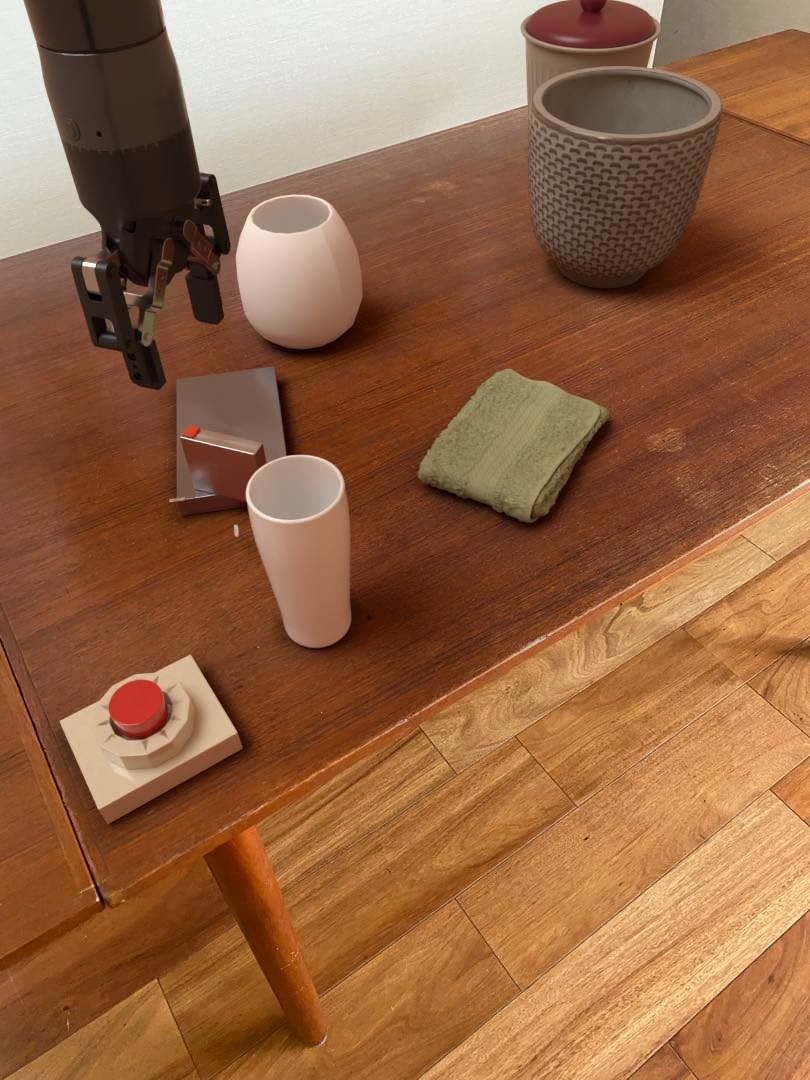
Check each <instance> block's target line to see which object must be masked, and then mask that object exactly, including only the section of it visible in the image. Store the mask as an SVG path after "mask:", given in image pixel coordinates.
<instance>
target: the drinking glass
mask: <svg viewBox="0 0 810 1080" xmlns="http://www.w3.org/2000/svg"><path fill="white" fill-rule="evenodd" d="M246 500H247V506H248V507H247V513H248V518H249V523H250V527H251V532H252V535H253V539H254V542H255V545H256V548H257V551H258V554H259V557H260V560H261V563H262V565H263V568H264V571H265V573H266V575H267V578H268V581H269V584H270V587H271V589H272V592H273V595H274V597H275V601H276V603H277V606H278V609H279V612H280V616H281V619H282V624H283V627H284V630H285V632H286V634H287V636H288V637H289V638H290V640H292V641H293V642H294V643H296V644H298V645H300V646H301V647H305V648H309V649H321V648H327V647H330V646H332V645H335V644H336V643H337V642H339V641H340V640H341V639H342V638H343V637H345V635H346V634H347V633H348V631H349V629H350V627H351V625H352V618H353V617H352V607H351V516H350V507H349V499H348V493H347V489H346V483H345V479H344V476H343V473H342V472H341V470H340V469H339V468H338V467H337V466H336V465H335V464H334V463H332V462H330V461H329V460H327V459H324V458H322V457H319V456H315V455H309V454H292V455H287V456H285V457H281V458H278V459H275V460H273V461H271V462H269V463H267V464H265V465H264V466H262V467H261V468H260V469H258V470H257V471H256V472H255V473H254V474H253V476H252V477H251V478H250V480H249V482H248V484H247V488H246Z"/></svg>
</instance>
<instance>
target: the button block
mask: <svg viewBox="0 0 810 1080" xmlns="http://www.w3.org/2000/svg"><path fill="white" fill-rule="evenodd" d="M134 680H149V681H152V682H154V683H156V684H157V685H158V686H159V687H160V688H161V690H162V693H163V695H164V697H165V699H166V702H167V704H168V707H169V714H168V718H167V720H166V722H165V724H164V725H163V726H162V727H161V729H159V730H158V731H157V732H156V733H154V734H153V735H150V736H148V737H145V738H140V739H132V738H128V737H125V736H124V735H122V734H121V733H120V732H119V731H118V729H117V728H116V726H115V724H114V722H113V720H112V718H111V716H110V714H109V702H110V699H111V697H112V695H113V694H114V693H115V691H116V690H117V689H119V688H120V687H121V686H122V685H124V684H126V683H128V682H131V681H134ZM59 724H60V726H61V728H62V730H63V733H64V735H65V737H66V740H67V742H68V744H69V746H70V749H71V751H72V754H73V755H74V758H75V760H76V762H77V765H78V767H79V769H80V772H81V774H82V776H83V779H84V781H85V783H86V786H87V787H88V790H89V792H90V794H91V796H92V799H93V802H94V803H95V806H96V808H97V810H98V812H99V813H100V815H101V816H102V818H103V820H104V821H105V822H106V825H109V824H111V823H113V822H115V821H117V820H119V819H120V818H121V817H124V816H125V815H127V814H129V813H131V812H133V811H135V810H137V808H140V807H141V806H144V805H145V804H147V803H148V802H150V801H152V800H154V799H156V798H157V797H159V796H161V795H163V794H165V793H166V792H168V791H170V790H171V789H174V788H175V787H177V786H179V785H180V784H182V783H184V782H186V781H188V780H190V779H191V778H193V777H195V776H197V775H198V774H200V773H202V772H204V771H205V770H207V769H209V768H211V767H213V766H214V765H216V764H217V763H219V762H221V761H223V760H225V759H227V758H228V757H230V756H232V755H234V754H236V753H238V752H239V751H241V750H243V744H242V741H241V739H240V735H239V733H238V731H237V729H236V727H235V726H234V724H233V722H232V720H231V719H230V717H229V716H228V713H227V712H226V711H225V709H224V707H223V706H222V704H221V702H220V701H219V699H218V697H217V695H216V694H215V692H214V690H213V689H212V687H211V686H210V684H209V682H208V681H207V679H206V677H205V676H204V674H203V672H202V671H201V669H200V667H199V666H198V664H197V662H196V660H195V659H194V657H193V655H192V654H187V655H186V656H184V657H182V658H180V659H178V660H177V661H175V662H172V663H170V664H169V665H167V666H164V667H162V668H161V669H159V670H156V671H155V672H149V673H148V672H145V673H136V674H135V673H134V674H132V675H131V676H129V677H126V678H124V679H123V680H121V681H118V682H117V683H115V684H112V685H111V686H110V687H109V689H108V690H107V691H106V692H105V693H104V695H103V696H102V697H101V698H100V699H99V700H97V701H96V702H94V703H92V704H90V705H88V706H86V707H84V708H82V709H80V710H77V711H76V712H74V713H72V714H70V715H68V716H66V717H64V718H63V719H61V720H59Z"/></svg>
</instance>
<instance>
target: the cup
mask: <svg viewBox="0 0 810 1080" xmlns="http://www.w3.org/2000/svg"><path fill="white" fill-rule="evenodd" d="M235 265H236V267H235V268H236V278H237V284H238V289H239V295H240V299H241V305H242V308H243V312H244V316H245V318H246V319H247V320H248V322H249V323H250V325H251V327H252V328H253V330H255V331H256V332H257V333H258V334H259V335H260V336H261V337H262V338H263V339H265V340H267V341H269V342H270V343H273V344H275V345H278V346H281V347H284V348H286V349H296V350H307V349H313V348H314V349H315V348H321V347H323V346H326V345H327V344H330V343H332V342H334V341H336V340H337V339H339V338H340V337H341V336H342V335H343V334H344V333H346V332H347V331H348V330H349V329H350V328H351V327H353V325H354V323H355V321H356V317H357V315H358V312H359V310H360V306H361V303H362V300H363V296H364V295H363V294H364V293H363V275H362V269H361V264H360V259H359V253H358V250H357V246H356V245H355V242H354V239H353V236H352V235H351V233H350V231H349V229H348V227H347V225H346V223H345V221H344V219H342V217H341V216H340V214H339V213H338V212H337V210H336V209H335V207H334V206H333V204H331V203H329V202H328V201H327V200H325V199H324V198H321V197H317V196H312V195H310V194H287V195H280V196H275V197H272V198H269V199H267V200H264V201H262V202H260V203H259V204H258V205H256V206H254V207H252V209H251V210H250V212H249V214H248V216H247V217H246V220H245V222H244V225H243V227H242V230H241V232H240V235H239V237H238V243H237V248H236V253H235Z"/></svg>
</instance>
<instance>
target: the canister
mask: <svg viewBox="0 0 810 1080" xmlns="http://www.w3.org/2000/svg"><path fill="white" fill-rule="evenodd" d="M520 32H521V35H522V37H523V38H525V41H524V43H525V69H526V70H525V71H526V97H527V118H528V120H529V109H530V103H531V98H532V96H533V93H534V91H535V90H536V89H537V88H538V87H539V86H540V85H541V84H543V83H544V82H546V81H547V80H549V79H551V78H553V77H555V76H558V75H561V74H564V73H567V72H571V71H575V70H580V69H586V68H594V67H606V66H633V67H645V68H648V67H649V66H648V65H649V62H650V57H651V54H652V50H653V45H654V42H655V41H656V40H657V39H658V38H659V37H660V36H661V33H662V25H661V23H660V22H659V21H658V19H656V18H655V17H653V16H652V15H651V14H650V13H649V12H648V11H647V10H645V9H643V8H641V7H640V6H637V5H635V4H632V3H628V2H625V1H620V0H560V1H556V2H553V3H549V4H547V5H544V6H542V7H540V8H538V9H537V10H535V12H533V13H532V14H530V15H528V16H527V17H525V18H524V19H523V20H522V22H521V24H520Z"/></svg>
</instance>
